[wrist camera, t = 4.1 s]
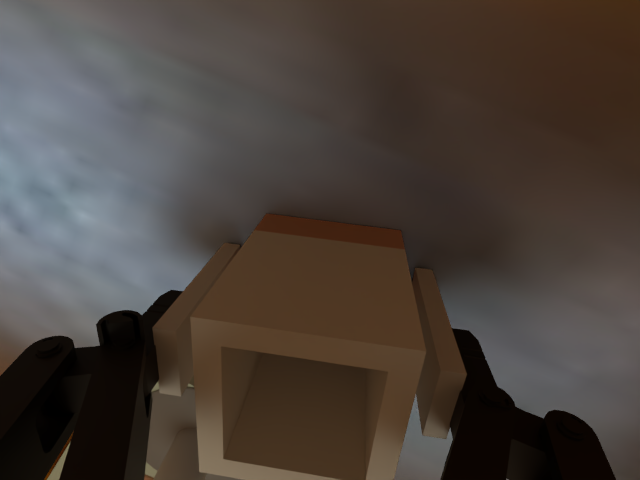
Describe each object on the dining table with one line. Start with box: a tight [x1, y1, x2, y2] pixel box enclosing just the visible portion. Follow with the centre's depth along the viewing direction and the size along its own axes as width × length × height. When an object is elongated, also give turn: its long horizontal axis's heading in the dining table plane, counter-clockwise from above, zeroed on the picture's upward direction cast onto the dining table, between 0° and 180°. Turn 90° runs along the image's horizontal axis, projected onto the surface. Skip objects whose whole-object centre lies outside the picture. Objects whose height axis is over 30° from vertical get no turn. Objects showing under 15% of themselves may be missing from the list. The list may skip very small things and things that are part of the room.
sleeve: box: [190, 213, 426, 480], centre depth 14 cm, size 6×6×8 cm
